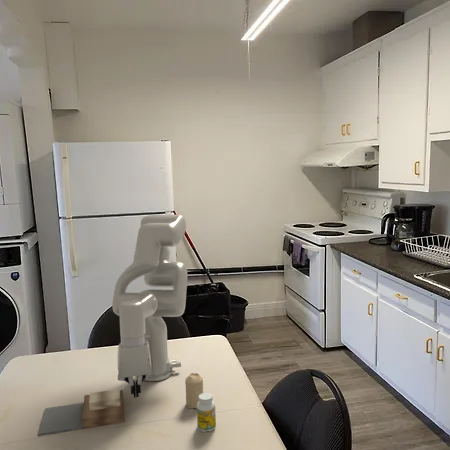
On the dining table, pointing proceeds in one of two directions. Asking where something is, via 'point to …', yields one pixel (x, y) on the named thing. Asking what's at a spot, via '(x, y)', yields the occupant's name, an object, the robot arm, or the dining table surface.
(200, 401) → the supplement bottle
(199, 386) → the candle
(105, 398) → the tile
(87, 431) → the dining table surface
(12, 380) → the dining table surface
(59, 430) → the mat
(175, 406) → the dining table surface
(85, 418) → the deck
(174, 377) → the dining table surface
